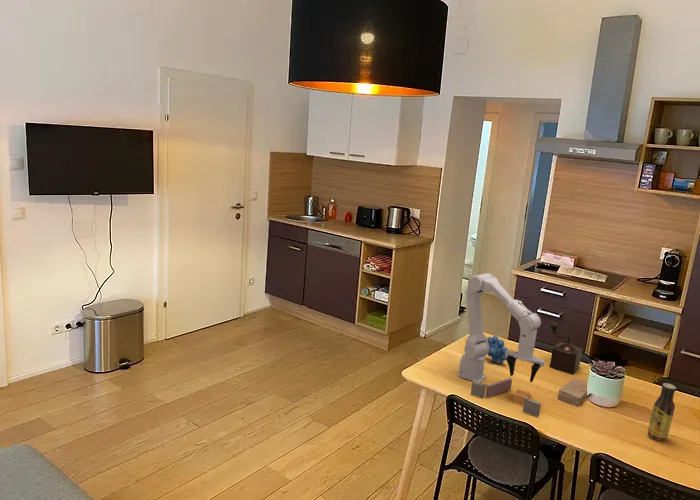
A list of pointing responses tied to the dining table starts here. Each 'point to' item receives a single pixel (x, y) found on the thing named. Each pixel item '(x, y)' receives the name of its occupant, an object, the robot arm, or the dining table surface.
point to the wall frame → (529, 405)
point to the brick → (573, 392)
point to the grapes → (497, 349)
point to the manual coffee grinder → (565, 354)
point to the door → (498, 387)
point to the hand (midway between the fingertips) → (521, 378)
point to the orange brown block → (520, 396)
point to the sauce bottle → (662, 414)
